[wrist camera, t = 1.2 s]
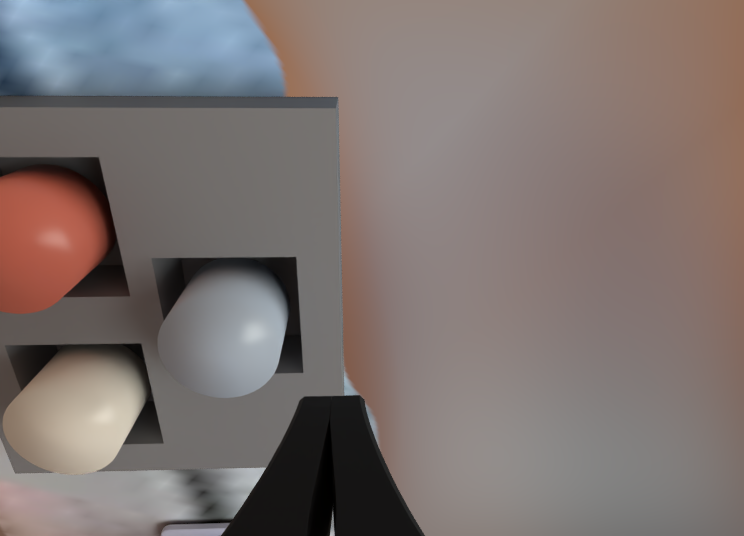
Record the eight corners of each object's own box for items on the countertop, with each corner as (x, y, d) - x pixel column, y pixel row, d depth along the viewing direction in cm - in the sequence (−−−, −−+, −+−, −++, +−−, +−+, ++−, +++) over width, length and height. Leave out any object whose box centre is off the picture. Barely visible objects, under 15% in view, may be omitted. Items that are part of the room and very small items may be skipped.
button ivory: (159, 414, 22) (130, 473, 19) (65, 416, 21) (21, 476, 19) (142, 337, 20) (106, 388, 17) (40, 338, 20) (-13, 390, 17)
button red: (127, 269, 19) (86, 313, 16) (17, 270, 18) (-44, 314, 16) (103, 163, 17) (52, 190, 14) (-18, 163, 17) (-95, 191, 14)
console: (344, 417, 24) (343, 465, 22) (53, 423, 24) (15, 473, 21) (338, 97, 18) (335, 108, 15) (-61, 95, 17) (-136, 106, 15)
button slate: (293, 345, 20) (283, 396, 17) (194, 346, 20) (168, 399, 17) (286, 256, 19) (275, 296, 16) (179, 257, 18) (147, 298, 16)
